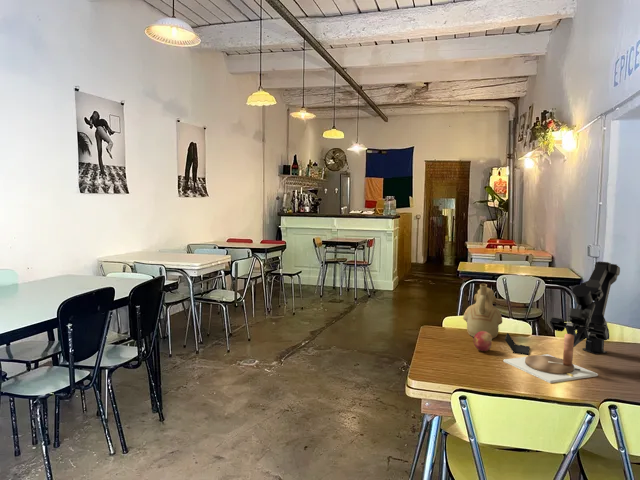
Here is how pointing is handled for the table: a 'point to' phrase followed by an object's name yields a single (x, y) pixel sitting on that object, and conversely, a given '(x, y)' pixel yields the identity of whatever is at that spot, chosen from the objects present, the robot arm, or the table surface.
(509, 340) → the handheld gaming console
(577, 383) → the table surface
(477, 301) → the ceramic vessel
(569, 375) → the dial plate
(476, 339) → the fruit
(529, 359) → the dial
